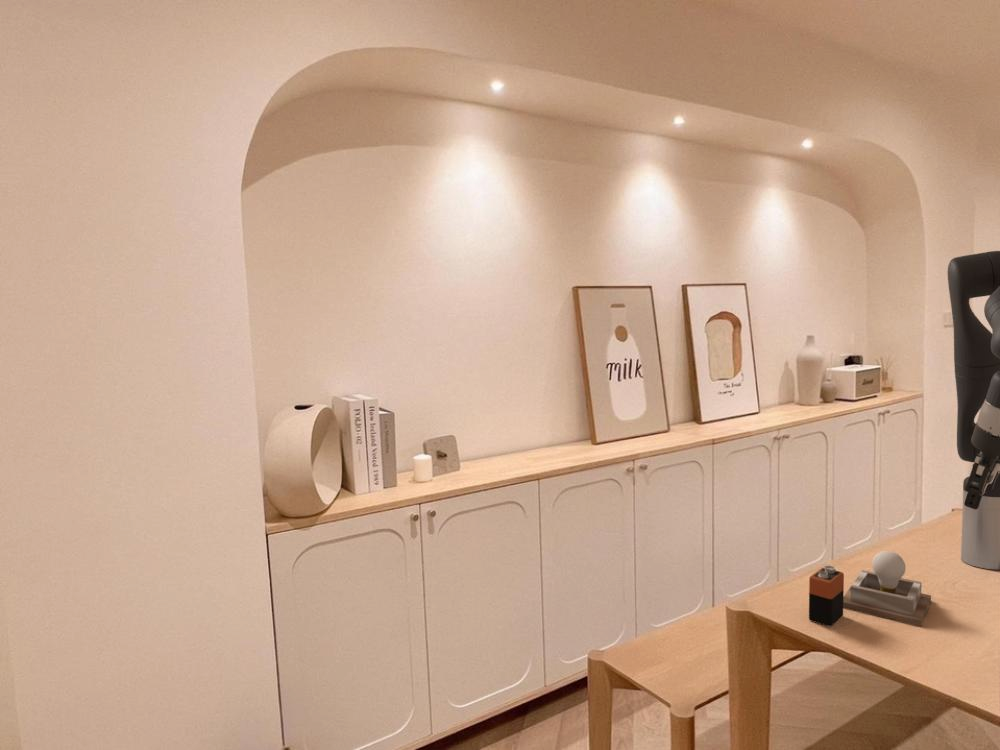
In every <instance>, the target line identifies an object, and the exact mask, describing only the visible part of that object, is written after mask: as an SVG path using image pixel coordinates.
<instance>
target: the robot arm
mask: <svg viewBox="0 0 1000 750" xmlns="http://www.w3.org/2000/svg"><path fill="white" fill-rule="evenodd" d="M947 281H948V282H947V284H948V285H947V286H948V292H949V299H950V306H951V308H950V309H951V315H952V325H953V362H954V375H955V376H954V377H955V388H956V400H957V413H956V414H957V416H956V417H957V418H956V449H957V454H958V457H959V459H961V460H962V461H963V462H964V461H965V462H967V463H968V462H969V463H972V468H971V471H970V474H969V476H967V477H965V478H964V479H963V481H962V482H963V483H962V486H963V487H962V516H961V517H962V519H961V541H960V542H961V544H960V545H961V546H960V560H961V561H962V562H963V563H965V564H968V565H969V566H972V567H973V566H974V567H977V568H982V569H987V570H996V571H998V570H999V571H1000V250H991V251H985V252H980V253H973V254H968V255H967V254H966V255H960V256H956V257H953V258H952V259H950V261H949V263H948V266H947ZM987 296H989V297H988V298H987V299H986V301H985V304H984V308H983V309H984V310H983V311H984V317H985V319H986V321H987V323H988V324H989V326H990V328H991V330H992V331H990V330H989V329H988V328H987V327H986V326H985V325H984V323H982V322H981V320H980V319H979V318H978V317H977V315H976V314H975V313H974V311H973V310H972V307H971V305H970V300H971V299H974V298H980V297H981V298H982V297H987ZM978 413H979V414H978ZM977 415H978V416H977ZM976 417H977V420H976V421H975V419H976ZM975 422H976V423H975Z"/></svg>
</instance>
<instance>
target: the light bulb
mask: <svg viewBox="0 0 1000 750" xmlns="http://www.w3.org/2000/svg"><path fill="white" fill-rule="evenodd" d="M871 565H872V569H873V572H875V573H876V575H877V576H878V579H879V583H880V587H881V588H880V589H881V590H880V591H883V592H887V593H892V594H895V593H896V587H897V585H898V582H899V580H900V578H903V576H904V575H905V572H906V562H905V560H904V559H903V558H902V557H901V556H900V555H899V553H896V552H893V551H892V550H891V551H890V550H882V551H879V552H877V553H876V554H875V555H874V556H873V559H872V562H871Z"/></svg>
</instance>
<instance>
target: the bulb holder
mask: <svg viewBox="0 0 1000 750" xmlns="http://www.w3.org/2000/svg"><path fill="white" fill-rule="evenodd" d="M922 583H923V582H922V581H918V580H914V579H908V578H903V577H901V578H900V580H899V582H898V585H897V587H896V593H895V594H892V593H887V592H883V591H880V590H881V589H880V588H881V587H880V583H879V579H878V576H877V575H876V573H875V571H870V570H864V569H862V570H861V572H860V573H859V574H858V576H857V577H856V579H855V580H854V582H853V583H852V585H850V587H849V588H848V590H847V592H845V594H844V595H843V609H847V610H851V611H856V612H861V613H863V614H868V615H872V616H877V617H880V618H884V619H887V620H893V621H896V622H901V623H904V624H909V625H913V626H917V627H921V626H922V624H923V621H924V619H925V616H926V615H927V611H928V609H929V606H930V605H931V601H932V595H930V594H926V593H922Z"/></svg>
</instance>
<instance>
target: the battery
mask: <svg viewBox="0 0 1000 750" xmlns="http://www.w3.org/2000/svg"><path fill="white" fill-rule="evenodd" d="M844 580H845V574H844V572H841V571H838V570H836V567H835V566H832V565H824V567H821V568H820V569H818V570H817V571H816V572H814V573H812V574H811V575H810V576H809V583H808V589H809V591H808V595H809V596H808V619H809V621H811V622H814V621H815V622H814V623H817V622H818V624H820V623H821V625H823V624H824V626H826V627H827V626H828V627H832V626H833V625H834V624H835V623H836V622H837V621H838V620H840V619H841V618H842V617H843V616H844V608H843V597H844V595H845V594H844V592H845V591H844V589H845V588H844V587H845V586H844V585H845V581H844Z"/></svg>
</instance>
